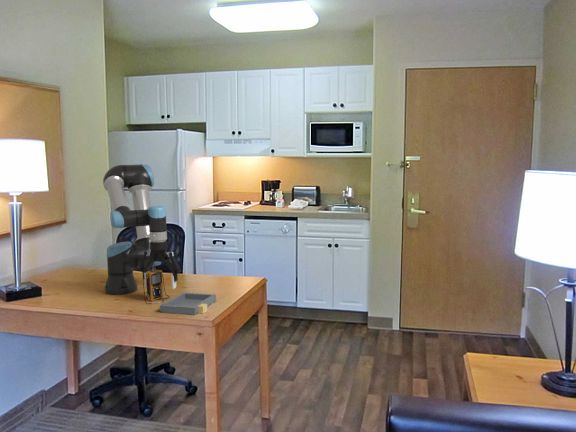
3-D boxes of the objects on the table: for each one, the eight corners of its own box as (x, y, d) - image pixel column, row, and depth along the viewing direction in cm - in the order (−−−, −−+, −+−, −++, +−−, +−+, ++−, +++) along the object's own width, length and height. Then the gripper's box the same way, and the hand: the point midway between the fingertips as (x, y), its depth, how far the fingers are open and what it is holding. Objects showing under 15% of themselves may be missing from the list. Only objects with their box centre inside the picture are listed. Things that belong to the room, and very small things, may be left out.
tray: (160, 312, 213) (159, 305, 213) (183, 298, 233) (183, 292, 233) (200, 315, 208) (200, 308, 208) (221, 301, 228) (221, 294, 228)
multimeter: (156, 306, 223) (154, 261, 220) (140, 303, 228) (138, 258, 226) (180, 298, 235) (179, 255, 233) (165, 295, 240) (163, 253, 238)
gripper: (129, 241, 228) (131, 288, 230) (179, 242, 221) (181, 290, 224) (138, 238, 235) (140, 284, 238) (187, 240, 228) (189, 286, 231)
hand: (160, 287), depth 231 cm, fingers open, 13 cm apart
